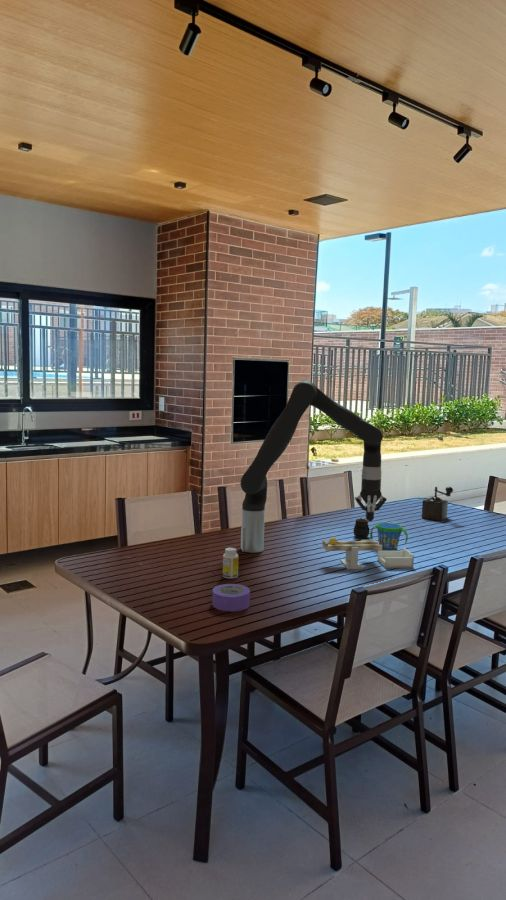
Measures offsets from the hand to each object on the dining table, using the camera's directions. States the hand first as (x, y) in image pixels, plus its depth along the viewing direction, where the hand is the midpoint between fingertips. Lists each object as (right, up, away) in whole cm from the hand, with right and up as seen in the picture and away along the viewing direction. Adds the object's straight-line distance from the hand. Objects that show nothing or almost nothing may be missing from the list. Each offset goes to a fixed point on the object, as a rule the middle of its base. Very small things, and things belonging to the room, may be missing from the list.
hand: (369, 520), depth 255 cm
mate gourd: (+3, -12, +38) cm, 40 cm away
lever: (-8, -10, -3) cm, 13 cm away
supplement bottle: (-54, -18, -24) cm, 62 cm away
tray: (+9, -17, -4) cm, 19 cm away
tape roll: (-53, -21, -52) cm, 77 cm away
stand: (-8, -16, -6) cm, 19 cm away
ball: (-15, -9, -7) cm, 19 cm away
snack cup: (+11, -14, +19) cm, 26 cm away
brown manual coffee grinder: (+50, -8, +80) cm, 95 cm away
